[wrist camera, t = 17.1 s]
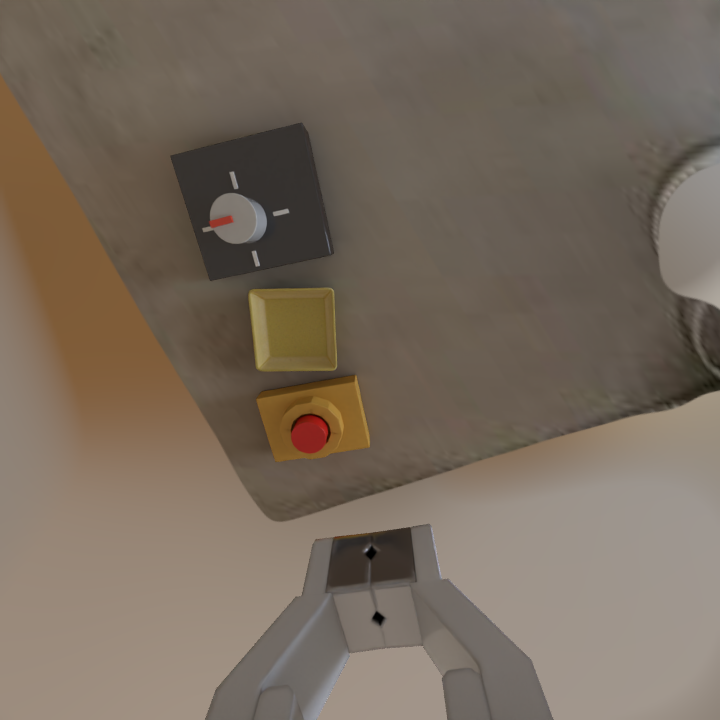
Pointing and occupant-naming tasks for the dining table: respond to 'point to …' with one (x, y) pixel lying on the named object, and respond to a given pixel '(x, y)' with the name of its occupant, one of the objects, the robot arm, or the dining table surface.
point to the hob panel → (257, 199)
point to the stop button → (309, 434)
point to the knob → (237, 219)
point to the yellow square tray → (293, 329)
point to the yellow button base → (322, 399)
